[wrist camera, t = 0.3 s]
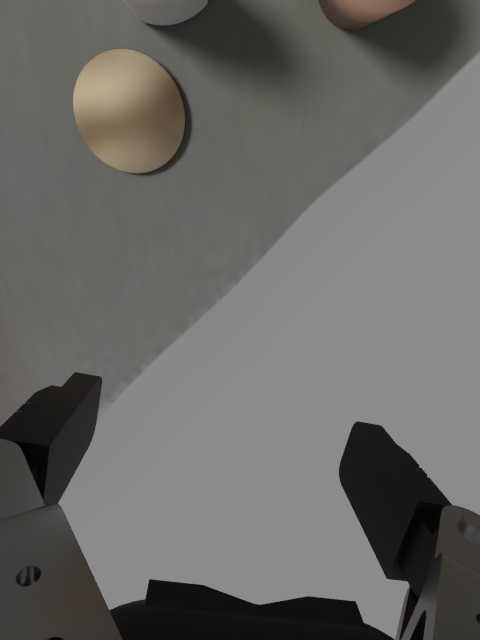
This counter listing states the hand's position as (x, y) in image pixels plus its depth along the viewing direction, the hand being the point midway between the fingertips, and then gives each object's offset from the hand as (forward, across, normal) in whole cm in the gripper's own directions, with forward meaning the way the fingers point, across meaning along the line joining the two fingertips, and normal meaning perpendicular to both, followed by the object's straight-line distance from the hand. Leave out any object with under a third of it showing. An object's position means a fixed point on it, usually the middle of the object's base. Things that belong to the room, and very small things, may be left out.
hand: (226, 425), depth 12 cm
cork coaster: (+25, +10, -13) cm, 30 cm away
